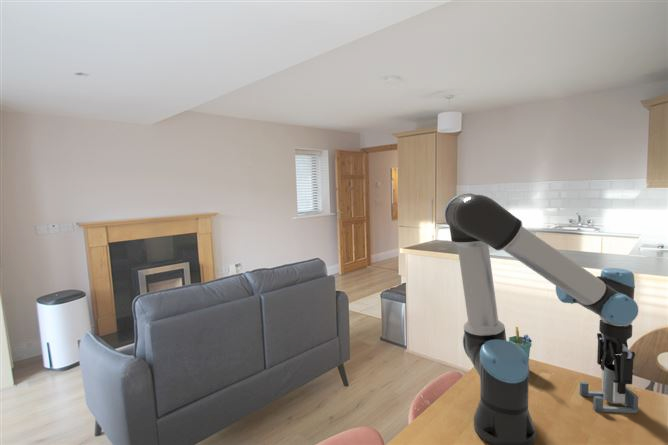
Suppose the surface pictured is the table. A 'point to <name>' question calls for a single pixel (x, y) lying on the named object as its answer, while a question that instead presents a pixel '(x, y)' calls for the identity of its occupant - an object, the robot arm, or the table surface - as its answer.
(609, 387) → the grey tube
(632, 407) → the endcap rail
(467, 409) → the table surface
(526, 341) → the cup
